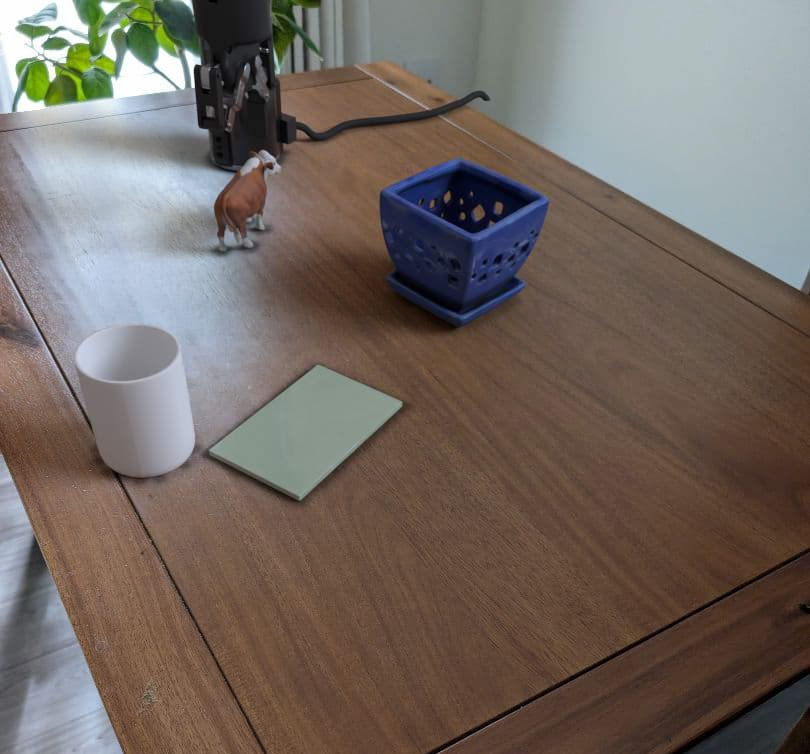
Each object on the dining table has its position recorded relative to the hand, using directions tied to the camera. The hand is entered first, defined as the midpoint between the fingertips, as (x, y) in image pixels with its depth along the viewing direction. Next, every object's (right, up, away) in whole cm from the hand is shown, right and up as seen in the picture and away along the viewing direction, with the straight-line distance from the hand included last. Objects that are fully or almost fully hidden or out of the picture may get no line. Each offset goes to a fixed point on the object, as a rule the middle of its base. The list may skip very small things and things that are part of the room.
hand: (242, 150), depth 96 cm
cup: (-5, -34, -19) cm, 39 cm away
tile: (+9, -33, -17) cm, 39 cm away
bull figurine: (-1, -7, +7) cm, 10 cm away
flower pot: (+24, -17, 0) cm, 29 cm away
